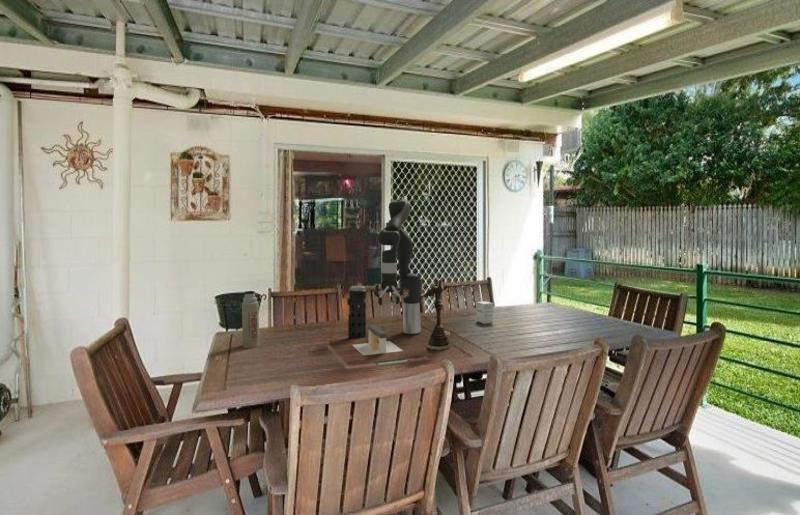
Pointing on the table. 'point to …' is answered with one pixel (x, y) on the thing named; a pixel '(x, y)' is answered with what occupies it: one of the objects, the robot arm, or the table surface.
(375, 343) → the orange block
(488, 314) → the grey cylindrical canister
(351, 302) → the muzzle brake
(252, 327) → the thermos bottle
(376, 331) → the strap
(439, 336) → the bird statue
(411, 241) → the robot arm
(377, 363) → the mat
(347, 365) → the table surface
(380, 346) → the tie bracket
